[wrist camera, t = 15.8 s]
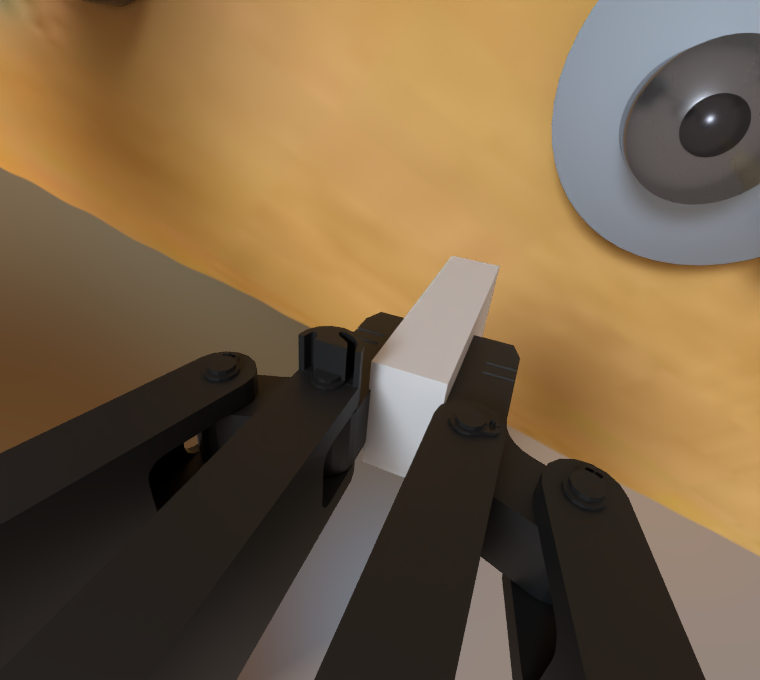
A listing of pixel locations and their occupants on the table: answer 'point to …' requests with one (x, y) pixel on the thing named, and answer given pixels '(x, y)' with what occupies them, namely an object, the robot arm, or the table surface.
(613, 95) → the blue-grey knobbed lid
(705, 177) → the cover
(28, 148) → the table surface
